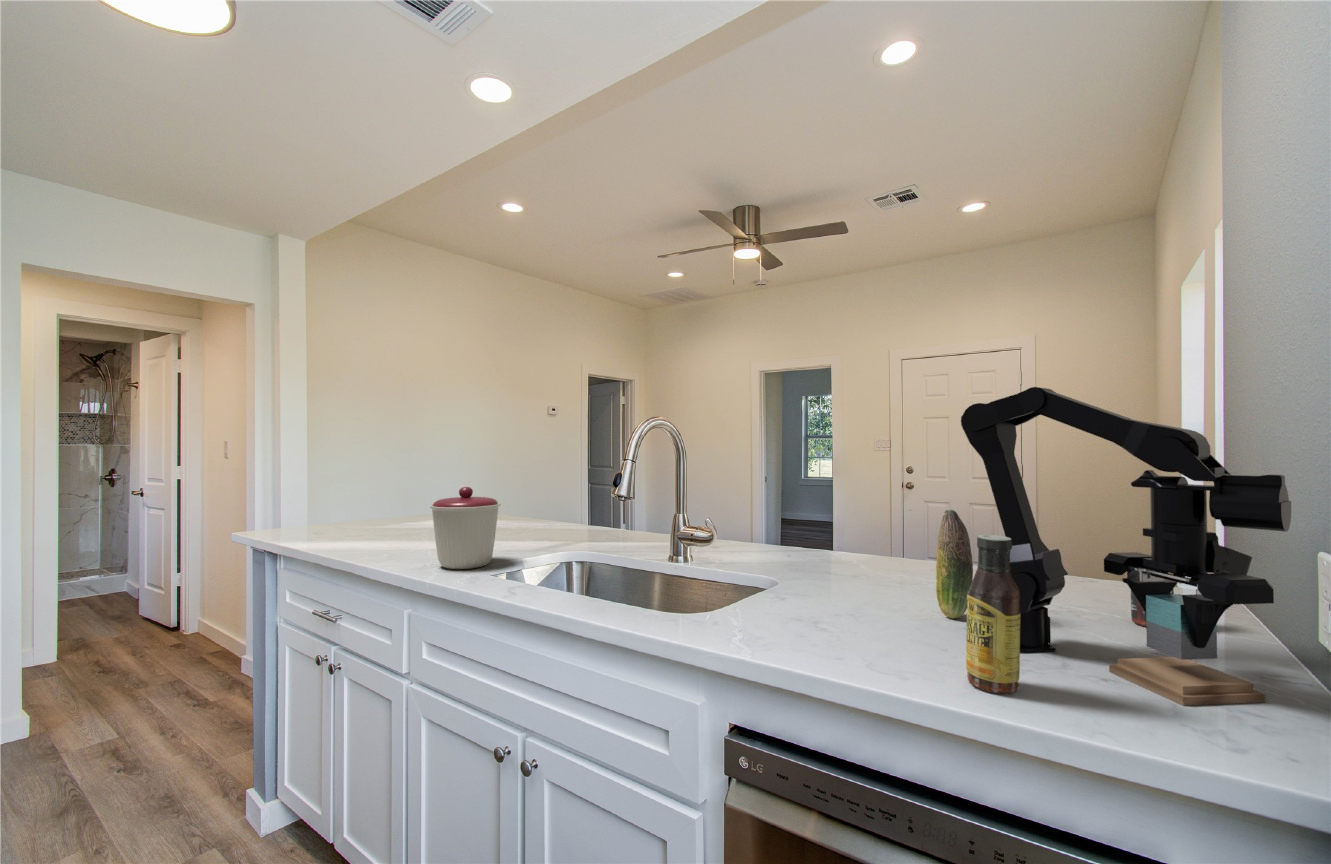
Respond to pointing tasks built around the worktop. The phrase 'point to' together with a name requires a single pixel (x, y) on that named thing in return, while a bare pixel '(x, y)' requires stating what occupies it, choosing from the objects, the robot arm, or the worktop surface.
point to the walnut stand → (1186, 681)
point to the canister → (465, 530)
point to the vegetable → (953, 565)
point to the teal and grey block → (1174, 629)
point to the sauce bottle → (993, 619)
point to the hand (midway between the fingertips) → (1180, 640)
